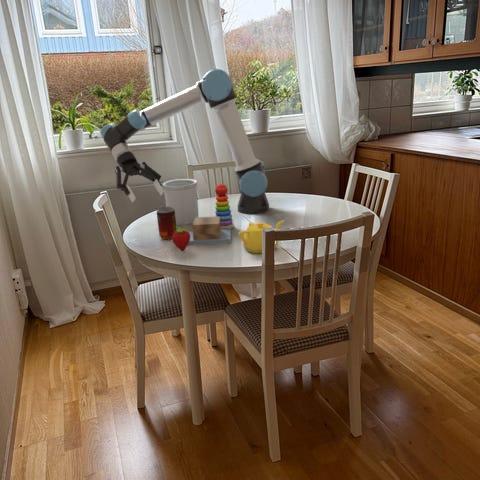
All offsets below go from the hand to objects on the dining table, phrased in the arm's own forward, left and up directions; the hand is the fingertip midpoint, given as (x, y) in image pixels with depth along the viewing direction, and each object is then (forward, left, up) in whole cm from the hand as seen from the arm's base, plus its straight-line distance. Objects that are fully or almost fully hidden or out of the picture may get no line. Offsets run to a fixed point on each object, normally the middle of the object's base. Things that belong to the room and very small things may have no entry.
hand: (148, 197), depth 175 cm
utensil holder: (-11, -16, -16) cm, 25 cm away
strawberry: (-15, +23, -16) cm, 32 cm away
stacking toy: (-30, -2, -16) cm, 34 cm away
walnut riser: (-24, +11, -14) cm, 29 cm away
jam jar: (-8, +8, -16) cm, 19 cm away
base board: (-24, +11, -15) cm, 30 cm away
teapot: (-45, +25, -16) cm, 53 cm away
